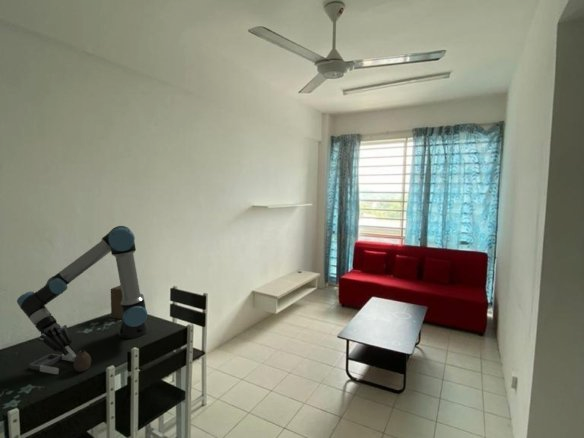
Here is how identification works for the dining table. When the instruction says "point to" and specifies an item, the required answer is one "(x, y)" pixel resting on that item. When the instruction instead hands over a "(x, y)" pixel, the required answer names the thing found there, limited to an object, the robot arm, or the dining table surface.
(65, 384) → the dining table surface
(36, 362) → the grey flat frame
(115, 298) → the block
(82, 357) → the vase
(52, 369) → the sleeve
